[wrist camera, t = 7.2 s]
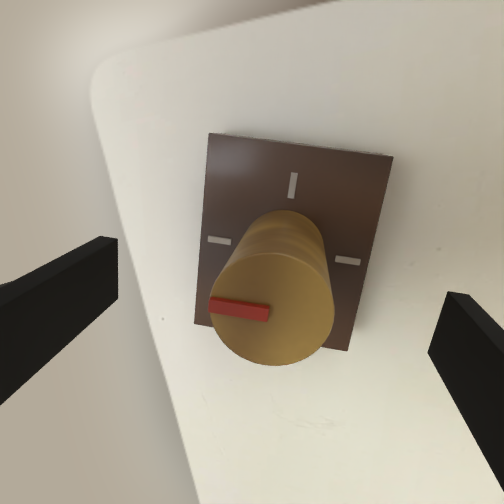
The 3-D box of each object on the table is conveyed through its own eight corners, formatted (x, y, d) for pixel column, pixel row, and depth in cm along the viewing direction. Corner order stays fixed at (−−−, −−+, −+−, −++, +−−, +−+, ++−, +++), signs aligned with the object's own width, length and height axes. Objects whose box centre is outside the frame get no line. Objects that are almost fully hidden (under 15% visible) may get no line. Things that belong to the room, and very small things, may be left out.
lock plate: (220, 133, 23) (207, 132, 20) (382, 153, 22) (394, 156, 19) (205, 304, 27) (193, 325, 24) (342, 328, 26) (347, 353, 23)
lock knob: (330, 215, 20) (346, 265, 12) (316, 293, 22) (323, 381, 14) (246, 204, 21) (211, 245, 13) (238, 281, 22) (202, 359, 14)
